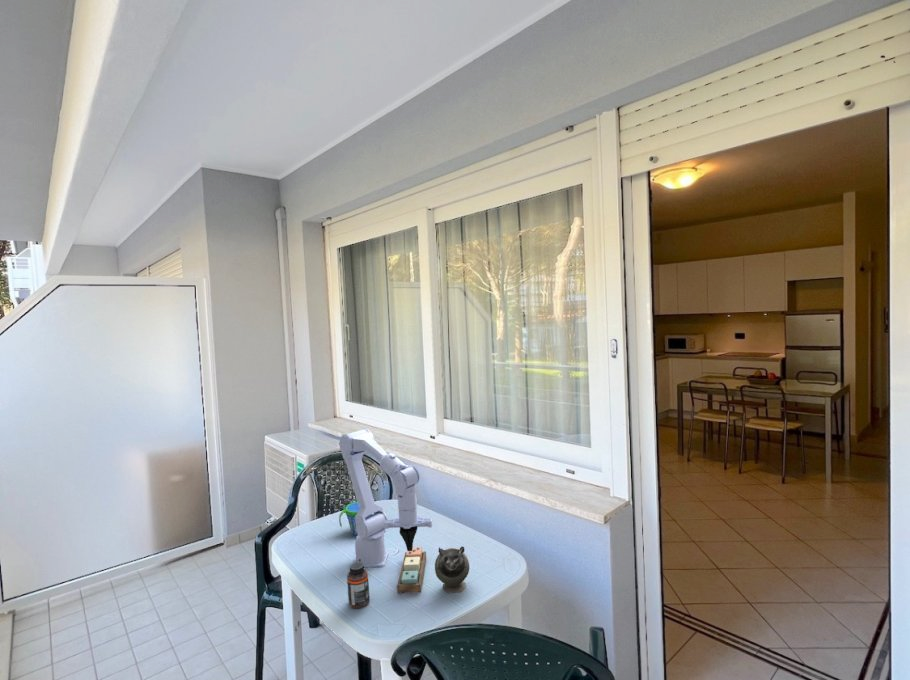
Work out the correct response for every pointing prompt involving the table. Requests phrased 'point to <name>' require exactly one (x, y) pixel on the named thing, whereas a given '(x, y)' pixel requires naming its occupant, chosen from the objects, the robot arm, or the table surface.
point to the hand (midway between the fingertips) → (410, 549)
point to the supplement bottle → (358, 585)
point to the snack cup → (351, 516)
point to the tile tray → (412, 587)
